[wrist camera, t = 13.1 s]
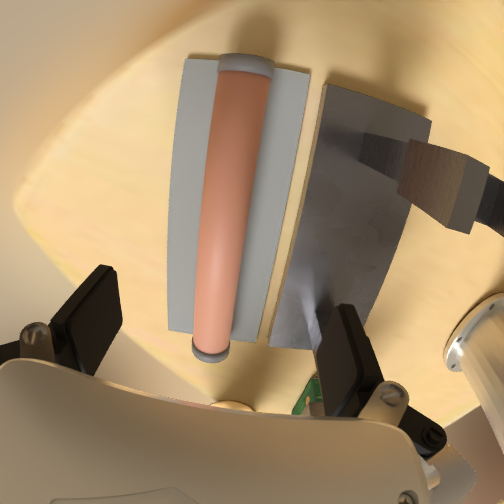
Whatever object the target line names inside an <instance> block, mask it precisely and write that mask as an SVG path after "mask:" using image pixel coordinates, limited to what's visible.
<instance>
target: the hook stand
mask: <svg viewBox="0 0 504 504" xmlns="http://www.w3.org/2000/svg"><path fill="white" fill-rule="evenodd" d="M431 123H432V121H431V120H429V119H427V118H424V117H422V116H420V115H418V114H415V113H413V112H410V111H408V110H406V109H403V108H401V107H398V106H395V105H393V104H390V103H387V102H385V101H382V100H379V99H376V98H373V97H370V96H367V95H364V94H361V93H358V92H355V91H351V90H348V89H345V88H341V87H337V86H334V85H330V84H326V85H323V88H322V94H321V100H320V105H319V111H318V116H317V122H316V127H315V132H314V137H313V142H312V147H311V152H310V157H309V162H308V167H307V172H306V177H305V182H304V186H303V191H302V196H301V200H300V205H299V209H298V214H297V218H296V223H295V227H294V232H293V236H292V240H291V245H290V249H289V253H288V257H287V262H286V266H285V270H284V274H283V278H282V282H281V286H280V290H279V294H278V298H277V302H276V306H275V310H274V314H273V318H272V322H271V325H270V329H269V333H268V337H267V339H268V346H269V347H280V348H293V349H307V350H313V354H314V359H315V364H316V369H317V374H318V379H319V372H318V366H317V360H316V353H317V349H318V347H319V345H320V342H321V340H322V337H323V335H324V333H325V330H326V328H327V325H328V323H329V320H330V318H331V315H332V313H333V310H334V308H335V306H339V304H341V303H344V304H353V305H354V306H355V309H356V311H357V313H358V316H359V318H360V321H361V324H362V326H364V324H365V322H366V320H367V318H368V316H369V313H370V311H371V309H372V307H373V305H374V302H375V300H376V298H377V296H378V293H379V291H380V289H381V286H382V284H383V282H384V279H385V277H386V274H387V272H388V270H389V267H390V264H391V262H392V259H393V257H394V254H395V251H396V249H397V246H398V243H399V240H400V238H401V235H402V232H403V229H404V226H405V223H406V220H407V217H408V214H409V211H410V208H411V204H412V203H413V204H414V205H415V206H417V207H418V208H420V209H421V210H423V211H424V212H425V213H427V214H428V215H430V216H431V217H432V218H434V219H435V220H437V221H438V222H439V223H441V224H442V225H443V226H445V227H446V228H449V229H452V230H456V231H459V232H462V233H466V234H470V231H471V229H472V226H473V223H474V221H476V222H479V223H482V224H484V225H487V226H489V227H490V228H492V229H493V230H494V231H496V232H497V233H499V234H500V235H501V236H503V237H504V182H503V181H501V180H500V179H498V178H496V177H494V176H493V175H491V174H489V169H490V167H489V166H487V165H485V164H483V163H482V162H480V161H478V160H476V159H474V158H472V157H470V156H468V155H466V154H463V153H460V152H456V151H453V150H450V149H447V148H443V147H440V146H436V145H432V144H429V143H428V139H429V134H430V129H431ZM319 384H320V379H319ZM320 389H321V385H320ZM321 394H322V391H321ZM322 400H323V398H322ZM301 415H304V416H325V411H324V404H323V402H308V403H307V405H306V407H305V409H304V410H303V412H302V414H301Z"/></svg>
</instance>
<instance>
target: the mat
mask: <svg viewBox="0 0 504 504" xmlns="http://www.w3.org/2000/svg"><path fill="white" fill-rule="evenodd" d="M218 62H219V60H206V59H185V63H184V68H183V75H182V81H181V87H180V94H179V101H178V109H177V117H176V125H175V134H174V143H173V154H172V165H171V178H170V193H169V212H168V241H167V302H168V330H170V331H176V332H182V333H188V334H193V330H194V303H195V283H196V266H197V251H198V238H199V225H200V214H201V203H202V193H203V183H204V174H205V165H206V156H207V148H208V140H209V132H210V125H211V118H212V111H213V104H214V97H215V91H216V84H217V78H218V73H217V68H218ZM309 80H310V74H306V73H301V72H297V71H292V70H287V69H281V68H276V67H275V68H274V74H273V80H271V81H270V87H269V93H268V99H267V105H266V111H265V117H264V123H263V129H262V135H261V141H260V147H259V153H258V159H257V165H256V172H255V178H254V184H253V190H252V197H251V203H250V209H249V215H248V222H247V228H246V235H245V241H244V247H243V254H242V260H241V267H240V273H239V280H238V287H237V293H236V300H235V306H234V313H233V320H232V327H231V333H230V340H236V341H245V342H253V343H256V339H257V335H258V331H259V326H260V322H261V318H262V313H263V309H264V305H265V300H266V296H267V291H268V287H269V282H270V278H271V273H272V269H273V264H274V259H275V255H276V250H277V246H278V241H279V236H280V231H281V227H282V222H283V217H284V212H285V207H286V202H287V197H288V192H289V187H290V182H291V177H292V172H293V167H294V162H295V157H296V152H297V146H298V141H299V136H300V130H301V125H302V120H303V114H304V109H305V103H306V97H307V92H308V86H309Z"/></svg>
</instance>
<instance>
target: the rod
mask: <svg viewBox="0 0 504 504" xmlns="http://www.w3.org/2000/svg"><path fill="white" fill-rule="evenodd" d="M274 68H275V62H274V61H272V60H270V59H267V58H264V57H260V56H255V55H249V54H239V53H229V54H222V55H220V56H219V62H218V68H217V73H218V78H217V84H216V91H215V97H214V104H213V111H212V118H211V125H210V132H209V140H208V148H207V156H206V165H205V174H204V183H203V193H202V203H201V214H200V225H199V238H198V251H197V266H196V283H195V303H194V330H193V338H192V352H193V354H194V356H195V357H196V358H198V359H199V360H201V361H203V362H206V363H217V362H221V361H223V360H224V359H225V358H226V357H227V356H228V354H229V348H230V333H231V327H232V320H233V313H234V306H235V300H236V293H237V287H238V280H239V273H240V267H241V260H242V254H243V247H244V241H245V235H246V228H247V222H248V215H249V209H250V203H251V197H252V190H253V184H254V178H255V172H256V165H257V159H258V153H259V147H260V141H261V135H262V129H263V123H264V117H265V111H266V105H267V99H268V93H269V87H270V81H271V80H273V74H274Z"/></svg>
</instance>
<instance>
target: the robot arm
mask: <svg viewBox="0 0 504 504" xmlns="http://www.w3.org/2000/svg"><path fill="white" fill-rule="evenodd" d="M50 321H51V322H50V323H49V325H48V326H47V324H44V323H42V322H34V323H31V324H28V325H27V326H25V327H24V329H22V331H21V333H20V338H19V340H18V341H14V342H11V343H7V344H4V345H0V504H461V503H462V502H463V500H464V499H465V498H466V497H467V495H468V494H469V493H470V491H471V490H472V488H473V487H474V485H475V483H476V479H477V476H476V472H475V470H474V469H473V468H472V467H471V466H470V464H469V463H468V462H467V461H466V460H465V459H464V458H463V457H462V456H461V455H460V454H459V452H458V451H457V450H456V449H455V448H454V447H453V446H452V445H451V444H450V445H449V446H448V445H447V444H446V442H447V436H446V433H445V431H444V429H443V428H442V427H441V426H440V425H438V424H437V423H435V422H434V421H432V420H431V419H429V418H427V417H426V416H424V415H423V414H421V413H420V412H418V411H416V410H415V409H413V408H412V407H410V406H409V405H408V403H409V395H408V393H407V391H406V390H405V388H404V387H403V386H401V385H400V384H399V383H396V382H393V381H384V378H383V375H382V372H381V370H380V367H379V364H378V361H377V359H376V356H375V353H374V350H373V348H372V345H371V343H370V340H369V338H368V337H367V336H366V334H365V331H364V329H363V326H362V324H361V321H360V318H359V316H358V313H357V311H356V309H355V306H354V305H353V304H344V303H341V304H339V306H335V308H334V310H333V313H332V315H331V318H330V320H329V323H328V325H327V328H326V330H325V333H324V335H323V337H322V340H321V342H320V345H319V347H318V349H317V353H316V360H317V366H318V372H319V379H320V385H321V391H322V398H323V404H324V411H325V416H304V415H287V414H273V413H262V412H252V411H244V410H236V409H228V408H221V407H215V406H209V405H203V404H197V403H192V402H187V401H182V400H177V399H173V398H168V397H164V396H160V395H155V394H151V393H147V392H143V391H139V390H136V389H132V388H129V387H125V386H122V385H119V384H115V383H112V382H109V381H106V380H102V379H99V378H96V377H93V376H94V374H95V372H96V371H97V369H98V367H99V365H100V363H101V361H102V359H103V358H104V356H105V354H106V352H107V350H108V349H109V346H110V345H111V343H112V341H113V340H114V338H115V336H116V334H117V333H118V331H119V329H120V327H121V325H122V321H123V318H122V311H121V304H120V297H119V289H118V280H117V272H116V271H114V269H113V267H112V266H107V265H102V264H100V265H99V266H98V267H97V268H96V269H95V270H94V271H93V272H92V273H91V274H90V275H89V276H88V277H87V279H86V280H85V281H84V282H83V283H82V284H81V285H80V286H79V287H78V289H77V290H76V291H75V292H74V293H73V294H72V295H71V296H70V298H69V299H68V300H67V301H66V302H65V304H64V305H63V306H62V307H61V308H60V309H59V311H58V312H57V313H56V314H55V315H54V317H53V318H52V319H51V320H50ZM443 357H444V362H445V364H446V366H447V368H448V369H449V370H450V371H453V372H460V371H463V372H464V374H465V376H466V378H467V379H468V381H469V383H470V385H471V387H472V389H473V390H474V392H475V394H476V396H477V398H478V400H479V402H480V404H481V406H482V408H483V410H484V412H485V414H486V416H487V418H488V420H489V422H490V424H491V427H492V429H493V431H494V433H495V435H496V438H497V440H498V442H499V445H500V447H501V449H502V452H503V454H504V293H499V294H495V295H493V296H491V297H489V298H487V299H486V300H484V301H483V302H481V303H480V304H479V305H478V306H476V307H475V308H474V309H473V310H472V311H471V312H470V313H469V314H468V315H467V316H466V317H465V318H464V319H463V320H462V322H461V323H460V324H459V325H458V327H457V328H456V329H455V331H454V332H453V334H452V335H451V337H450V339H449V341H448V343H447V345H446V348H445V351H444V356H443ZM496 504H504V499H503V500H501V501H499V502H498V503H496Z"/></svg>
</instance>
